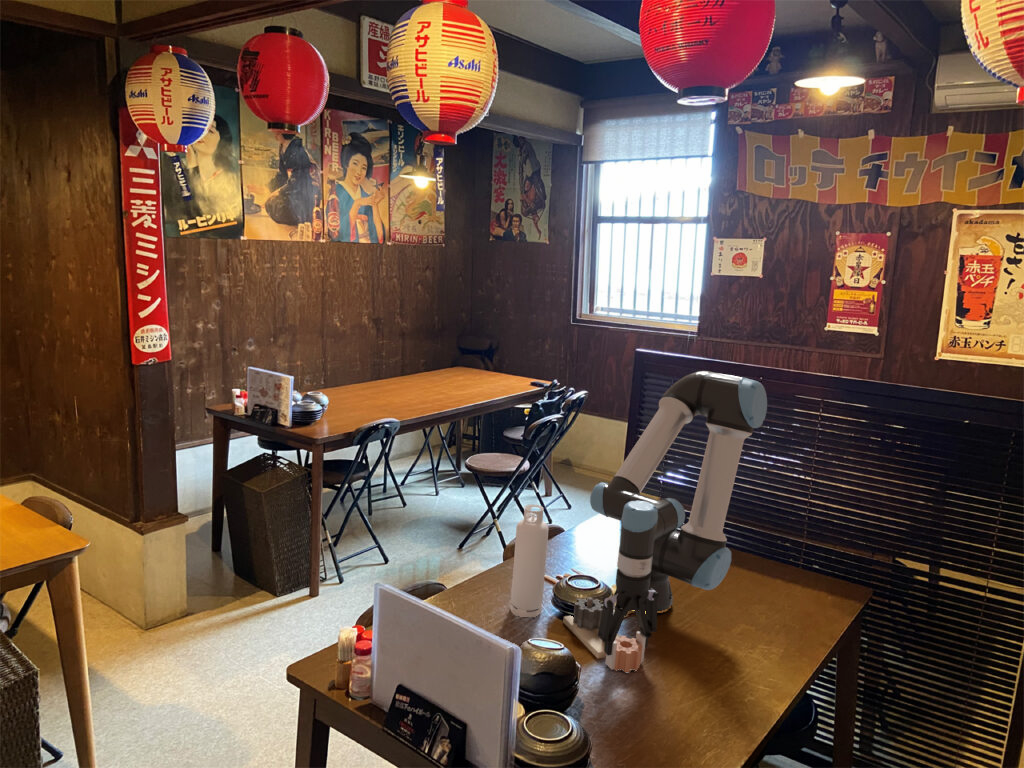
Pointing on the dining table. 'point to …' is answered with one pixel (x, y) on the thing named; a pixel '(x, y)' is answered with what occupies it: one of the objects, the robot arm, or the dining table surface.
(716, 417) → the robot arm
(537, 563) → the bottle
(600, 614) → the gear board
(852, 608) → the dining table surface
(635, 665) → the gear
